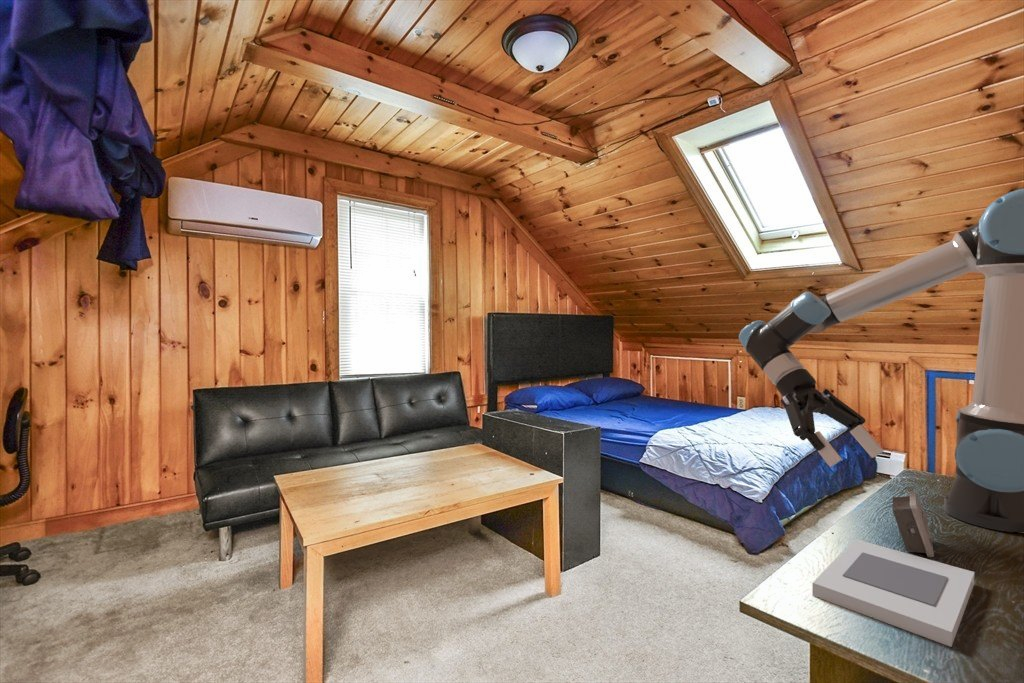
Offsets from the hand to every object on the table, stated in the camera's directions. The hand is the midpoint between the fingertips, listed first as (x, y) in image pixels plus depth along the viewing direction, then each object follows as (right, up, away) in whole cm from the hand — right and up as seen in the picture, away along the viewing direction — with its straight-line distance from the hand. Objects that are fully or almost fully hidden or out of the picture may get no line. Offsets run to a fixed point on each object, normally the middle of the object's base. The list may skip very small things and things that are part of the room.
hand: (857, 458), depth 98 cm
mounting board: (-10, -15, -23) cm, 29 cm away
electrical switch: (+4, -14, -8) cm, 17 cm away
